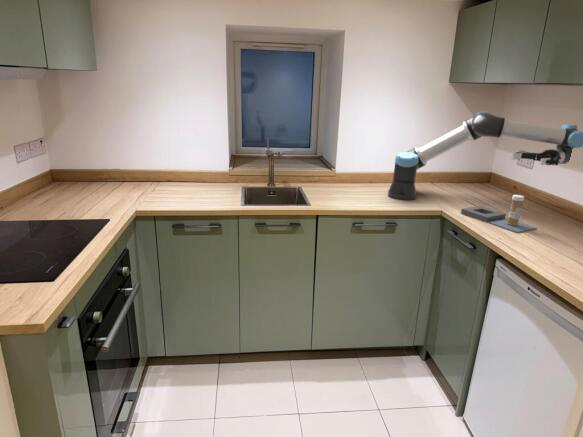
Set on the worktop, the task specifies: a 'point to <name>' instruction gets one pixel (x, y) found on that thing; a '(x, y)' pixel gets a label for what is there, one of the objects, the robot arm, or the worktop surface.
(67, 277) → the worktop surface
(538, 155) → the robot arm
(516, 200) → the sprinkles bottle
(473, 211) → the collar block
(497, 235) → the worktop surface
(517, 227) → the slate mat
